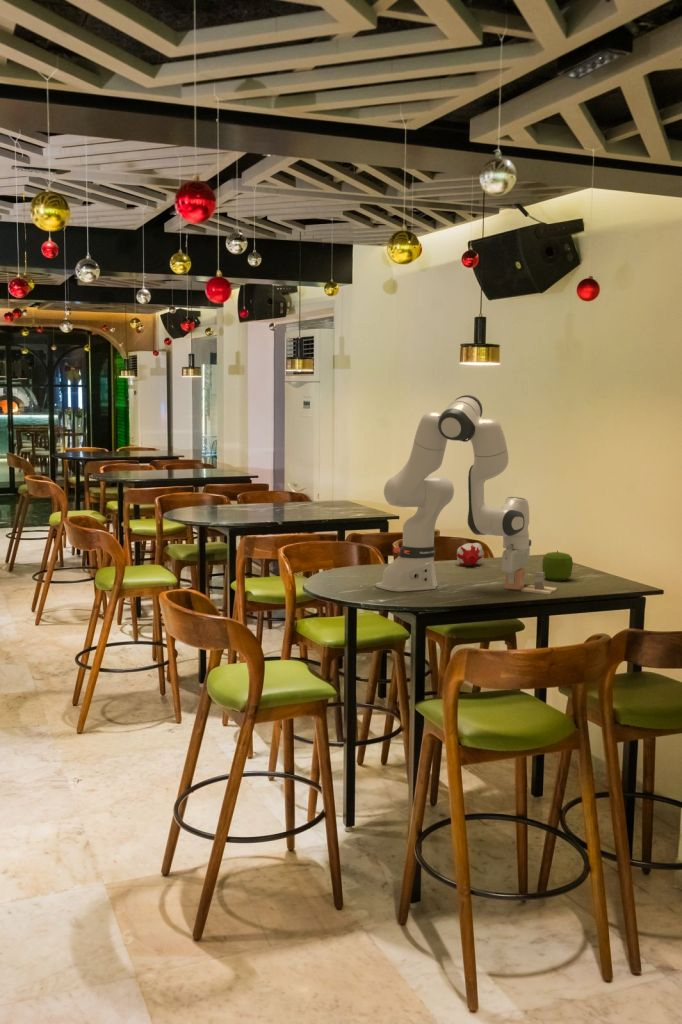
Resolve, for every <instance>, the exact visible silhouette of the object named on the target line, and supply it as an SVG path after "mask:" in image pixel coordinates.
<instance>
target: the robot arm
mask: <svg viewBox="0 0 682 1024" xmlns="http://www.w3.org/2000/svg"><path fill="white" fill-rule="evenodd" d="M482 415H483V406H482V403H481V401H480V399H478V398H477V397H476V396H473V395H471V394H470V395H469V394H464V395H461V396H459V397H456V399H454V401H452V402H451V403H450V404H449V405H448V406H447V407H446V409H445V410H444V411H443V412H440V411H435V410H433V411H428V412H425V413H424V414H423V415H422V417H421V419H420V421H419V423H418V426H417V429H416V432H415V435H414V439H413V444H412V449H411V452H410V455H409V458H408V461H407V462H406V463H405V465H404V466H403V467H402V469H401V470H400V471H398V472H397V473H396V474H395V475H394V476H392V477H390V478H389V479H388V480H387V481H386V482H385V485H384V488H383V495H384V499H385V501H386V502H387V504H389V505H390V506H394V507H399V508H417V509H416V512H415V513H414V515H412V516H411V517H410V518H408V519H407V520H405V522H404V523H403V525H402V545H401V546H400V547H397V546H394V547H393V553H396V554H397V555H398V556H397V557H396V558H395V559H394V560H393V561H392V562H391V563H389V565H387V566H386V567H385V568H384V570H383V573H382V581H380V582H376V583H375V586H376V588H379V589H381V590H386V591H389V592H390V591H391V592H411V591H424V590H425V591H426V590H436V589H437V587H438V586H439V584H438V581H437V577H436V568H435V556H436V546H435V543H434V542H435V531H436V530H435V529H436V523H437V520H438V518H439V515H440V514H441V512H442V510H444V508H445V507H446V506H448V505H449V504H450V503H451V502H452V500H453V498H454V494H455V488H454V484H453V483H452V480H451V479H449V478H448V477H445V476H439V475H431V474H433V473H435V472H436V471H438V470H439V469H440V467H442V464H443V460H444V456H445V451H446V447H447V442H448V440H450V441H455V442H456V441H459V442H465V443H466V442H469V441H470V442H471V445H472V449H473V456H474V457H473V458H474V461H473V464H472V465H471V466H470V467H469V470H468V475H467V476H468V477H467V478H468V483H467V484H468V485H467V486H468V487H467V488H468V513H467V525H468V527H469V530H470V531H471V532H472V533H473V534H474V535H476V536H481V535H482V536H485V535H486V536H496V537H498V536H500V537H502V548H503V549H504V550H503V551H502V555H501V568H500V569H501V570H500V571H501V573H505V574H506V573H507V575H508V578H509V584H513V583H515V578H514V571H516V570H518V569H524V567H527V566H528V565H529V562H530V554H531V553H530V552H531V549H530V547H531V546H532V540H531V539H530V534H529V533H530V532H529V524H530V506H529V502H528V500H527V499H526V498H524V497H523V498H522V497H517V496H510V497H506V498H505V503H504V505H502V506H501V507H494V506H493V507H492V506H488V505H486V504H485V482H486V481H488V480H491V479H493V478H495V477H497V476H499V475H501V474H502V473H503V472H504V471H505V470H506V469H507V467H508V464H509V451H508V448H507V447H508V446H507V441H506V438H505V434H504V430H503V428H502V426H501V424H500V421H498V420H497V419H494V418H493V417H492V418H490V417H487V418H484V417H482Z"/></svg>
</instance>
